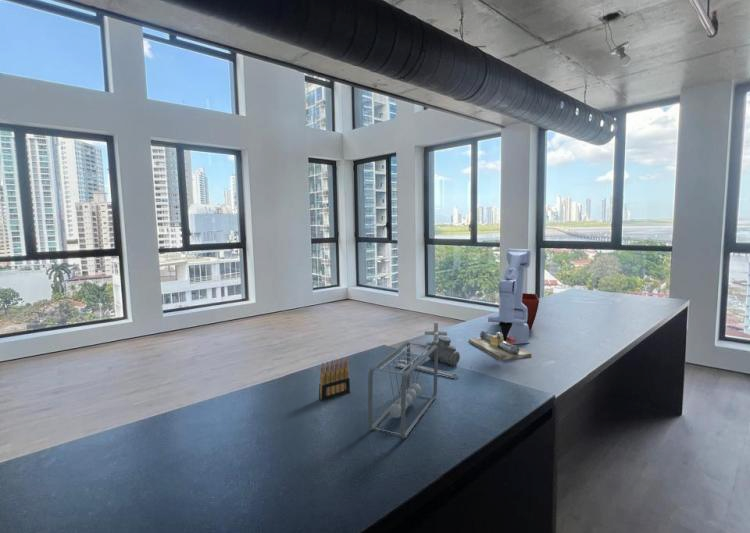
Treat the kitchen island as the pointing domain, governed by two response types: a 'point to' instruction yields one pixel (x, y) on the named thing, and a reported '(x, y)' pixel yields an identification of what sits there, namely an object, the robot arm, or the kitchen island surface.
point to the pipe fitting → (445, 351)
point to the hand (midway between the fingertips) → (505, 340)
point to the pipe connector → (435, 332)
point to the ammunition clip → (334, 380)
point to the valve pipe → (499, 342)
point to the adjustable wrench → (428, 369)
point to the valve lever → (507, 338)
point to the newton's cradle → (402, 387)
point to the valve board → (498, 350)
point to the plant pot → (530, 307)
